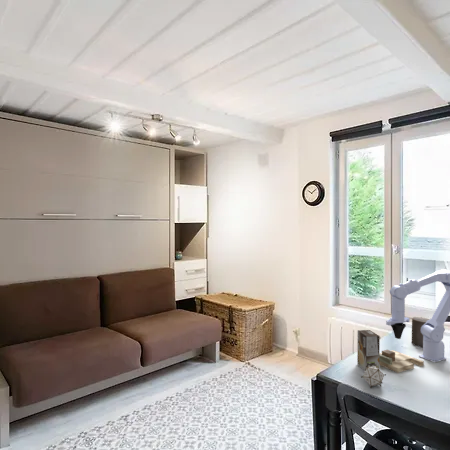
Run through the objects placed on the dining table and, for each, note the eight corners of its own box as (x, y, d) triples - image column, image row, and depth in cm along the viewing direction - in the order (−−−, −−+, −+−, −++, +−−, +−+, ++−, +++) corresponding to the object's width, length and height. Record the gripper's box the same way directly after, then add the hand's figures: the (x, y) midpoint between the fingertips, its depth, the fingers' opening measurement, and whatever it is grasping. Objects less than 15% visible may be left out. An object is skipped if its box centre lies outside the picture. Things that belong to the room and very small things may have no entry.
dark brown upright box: (410, 344, 189) (410, 317, 189) (412, 340, 197) (413, 313, 197) (431, 349, 184) (431, 320, 184) (432, 343, 192) (433, 316, 192)
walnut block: (387, 358, 165) (387, 349, 165) (395, 361, 161) (395, 352, 161) (381, 359, 163) (381, 350, 163) (389, 362, 159) (389, 353, 159)
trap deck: (393, 354, 176) (393, 345, 176) (423, 365, 161) (423, 355, 161) (367, 360, 167) (367, 350, 167) (397, 372, 153) (397, 362, 153)
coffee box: (380, 372, 153) (380, 336, 153) (366, 373, 153) (366, 336, 153) (369, 364, 162) (370, 329, 162) (356, 364, 162) (356, 329, 162)
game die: (378, 396, 139) (390, 383, 133) (357, 387, 141) (368, 373, 135) (378, 378, 146) (389, 364, 140) (358, 369, 148) (368, 355, 142)
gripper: (400, 307, 178) (400, 333, 178) (380, 310, 171) (380, 337, 171) (413, 310, 172) (413, 338, 172) (393, 313, 165) (393, 342, 165)
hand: (397, 338), depth 171 cm, fingers closed
